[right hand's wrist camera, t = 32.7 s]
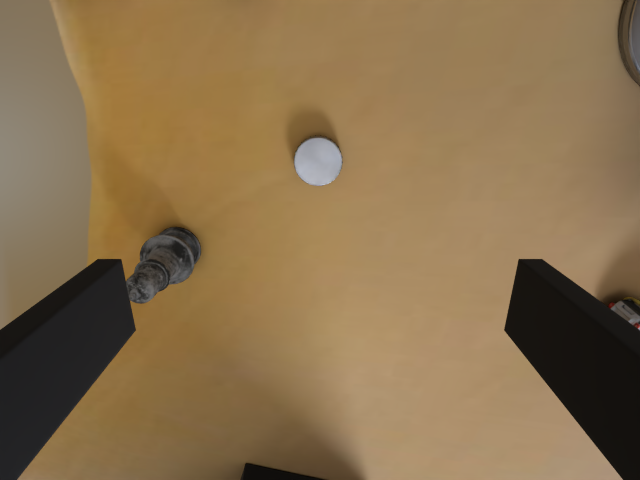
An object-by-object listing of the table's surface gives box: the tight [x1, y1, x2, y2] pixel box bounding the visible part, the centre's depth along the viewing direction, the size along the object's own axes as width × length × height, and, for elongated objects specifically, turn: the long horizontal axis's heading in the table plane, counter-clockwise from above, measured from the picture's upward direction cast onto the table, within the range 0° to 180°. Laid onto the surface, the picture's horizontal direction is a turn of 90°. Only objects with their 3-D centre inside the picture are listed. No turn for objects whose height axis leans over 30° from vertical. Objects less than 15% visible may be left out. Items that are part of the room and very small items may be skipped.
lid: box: [294, 135, 343, 186], centre depth 40 cm, size 5×5×2 cm
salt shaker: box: [126, 227, 201, 304], centre depth 39 cm, size 6×6×12 cm
